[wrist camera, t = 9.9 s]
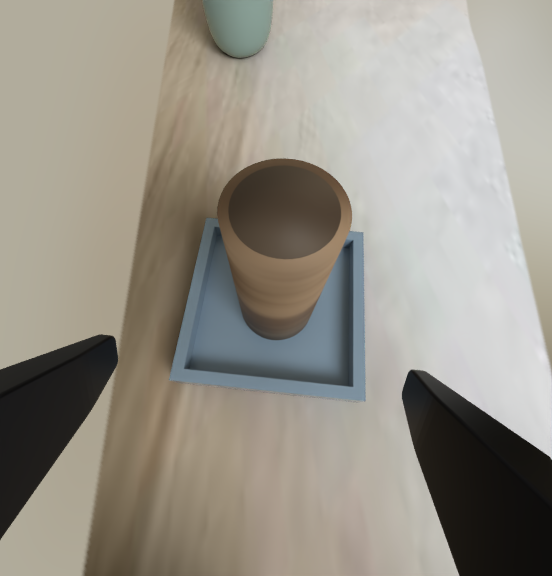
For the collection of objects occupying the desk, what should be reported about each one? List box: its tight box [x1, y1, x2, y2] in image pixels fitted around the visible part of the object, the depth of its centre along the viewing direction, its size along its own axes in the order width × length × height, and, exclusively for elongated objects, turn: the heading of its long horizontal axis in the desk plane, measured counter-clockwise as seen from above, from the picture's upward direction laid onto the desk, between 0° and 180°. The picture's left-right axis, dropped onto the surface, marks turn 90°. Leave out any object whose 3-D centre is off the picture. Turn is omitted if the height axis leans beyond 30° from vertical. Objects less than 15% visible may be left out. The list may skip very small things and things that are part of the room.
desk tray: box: [169, 218, 366, 402], centre depth 23 cm, size 13×13×2 cm
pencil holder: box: [217, 159, 352, 340], centre depth 18 cm, size 6×6×12 cm
